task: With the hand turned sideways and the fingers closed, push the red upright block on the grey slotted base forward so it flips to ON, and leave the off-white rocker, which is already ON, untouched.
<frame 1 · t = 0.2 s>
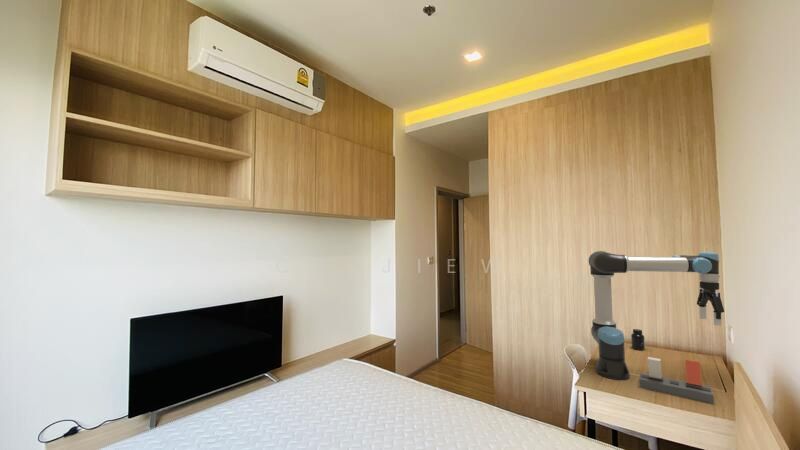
hand: (710, 322, 170), 27 cm above the table, tool pointing down, fingers open, 13 cm apart
red upright block: (693, 373, 151), point 10 cm above the table, hinge at -18.0°
supplement bottle: (638, 349, 208), on the table
white rocker: (654, 368, 157), point 10 cm above the table, hinge at 18.0°
grey slotted base: (674, 391, 154), on the table
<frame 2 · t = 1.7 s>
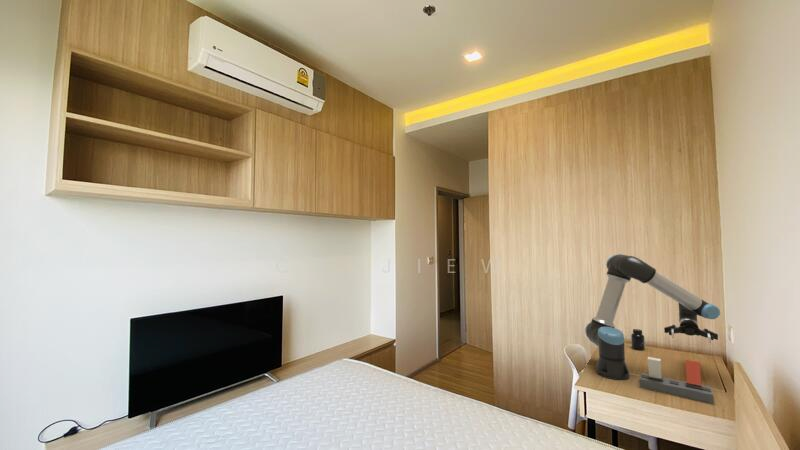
hand: (690, 337, 157), 24 cm above the table, tool horizontal, fingers open, 13 cm apart
nothing on the table moved.
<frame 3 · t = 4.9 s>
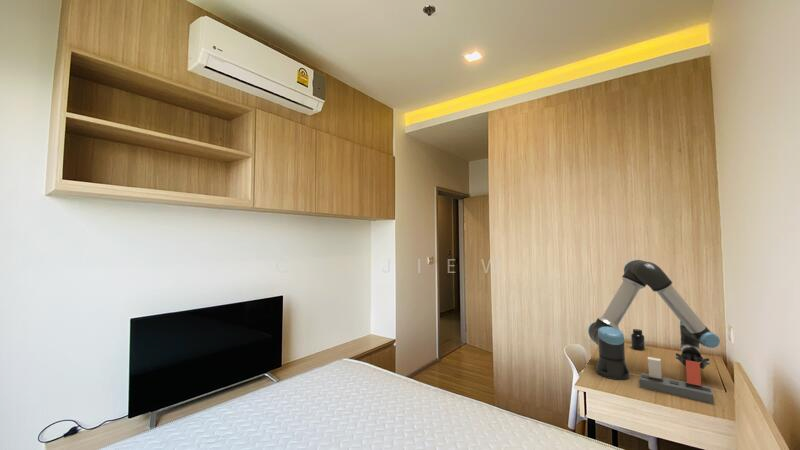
hand: (694, 369, 151), 11 cm above the table, tool horizontal, fingers closed
red upright block: (693, 373, 151), point 10 cm above the table, hinge at -15.2°, touching gripper
everything else where it was.
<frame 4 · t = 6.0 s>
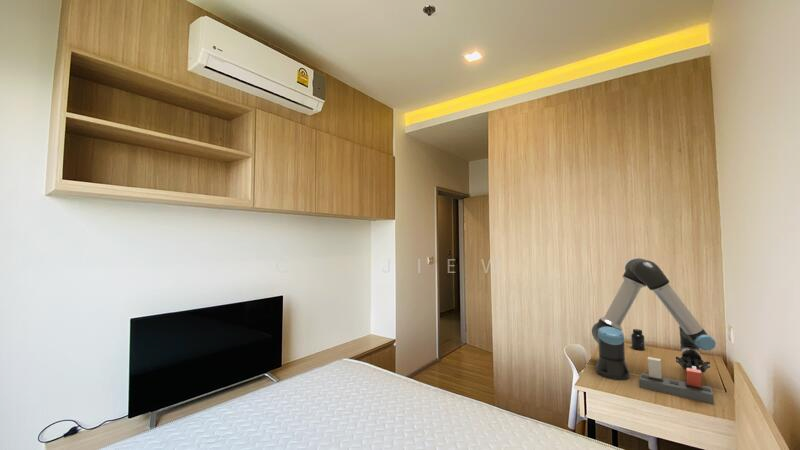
hand: (695, 373, 148), 11 cm above the table, tool horizontal, fingers closed
red upright block: (693, 378, 147), point 9 cm above the table, hinge at 33.0°, touching gripper
everything else where it was.
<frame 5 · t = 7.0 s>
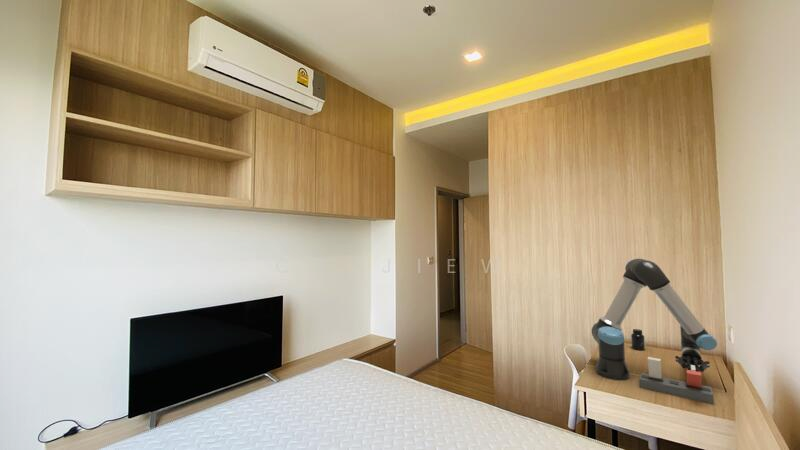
hand: (693, 372, 148), 11 cm above the table, tool horizontal, fingers closed
red upright block: (693, 379, 147), point 9 cm above the table, hinge at 39.2°
everything else where it was.
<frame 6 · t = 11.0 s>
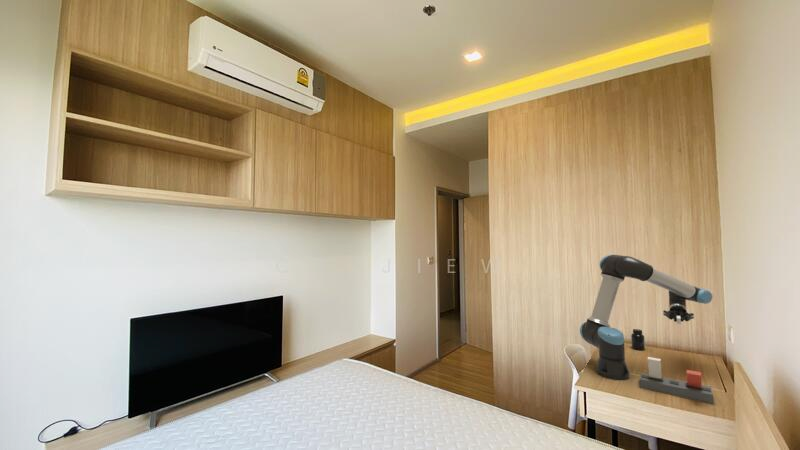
hand: (678, 321, 165), 30 cm above the table, tool horizontal, fingers closed
nothing on the table moved.
at the end: red upright block at +39° (first picture: -18°); white rocker at +18° (first picture: +18°) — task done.
